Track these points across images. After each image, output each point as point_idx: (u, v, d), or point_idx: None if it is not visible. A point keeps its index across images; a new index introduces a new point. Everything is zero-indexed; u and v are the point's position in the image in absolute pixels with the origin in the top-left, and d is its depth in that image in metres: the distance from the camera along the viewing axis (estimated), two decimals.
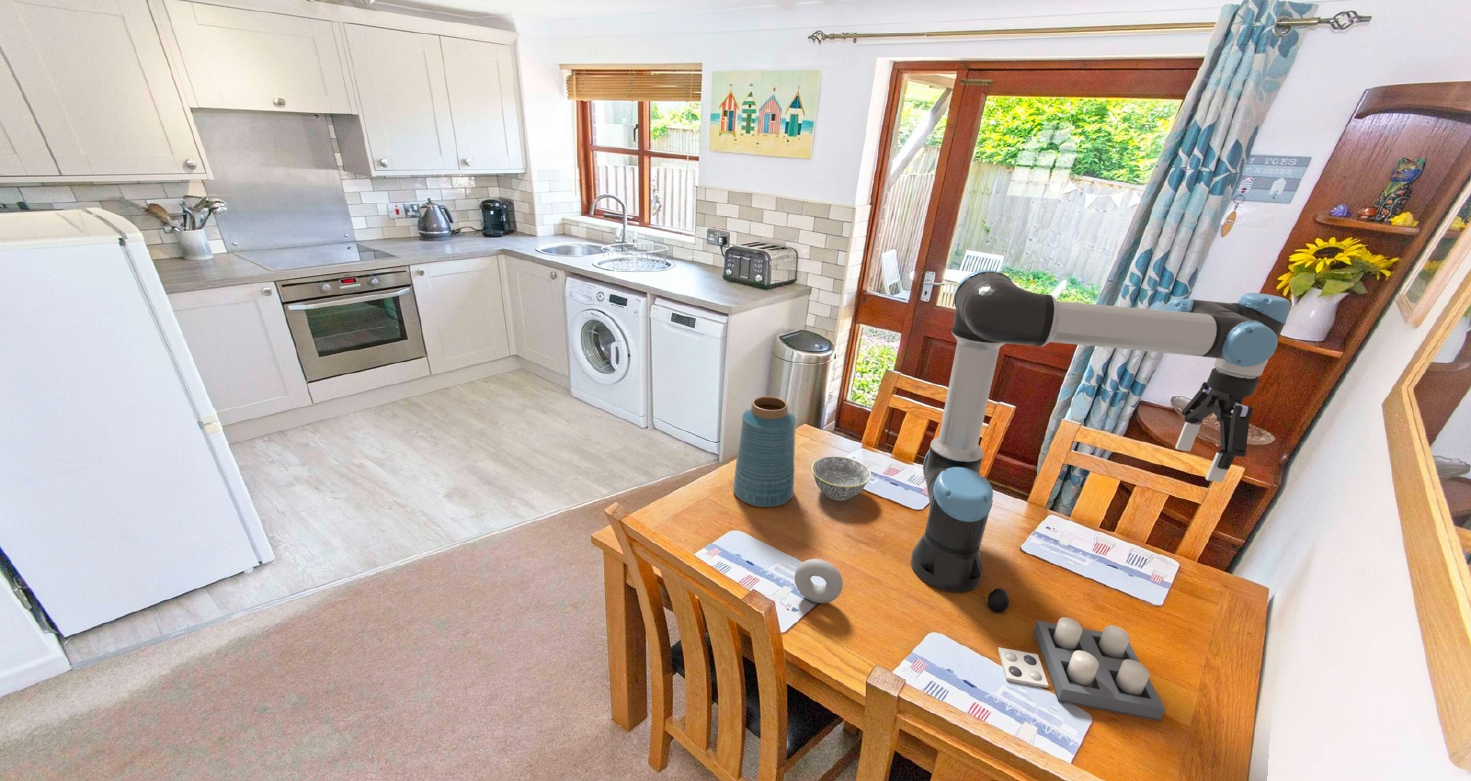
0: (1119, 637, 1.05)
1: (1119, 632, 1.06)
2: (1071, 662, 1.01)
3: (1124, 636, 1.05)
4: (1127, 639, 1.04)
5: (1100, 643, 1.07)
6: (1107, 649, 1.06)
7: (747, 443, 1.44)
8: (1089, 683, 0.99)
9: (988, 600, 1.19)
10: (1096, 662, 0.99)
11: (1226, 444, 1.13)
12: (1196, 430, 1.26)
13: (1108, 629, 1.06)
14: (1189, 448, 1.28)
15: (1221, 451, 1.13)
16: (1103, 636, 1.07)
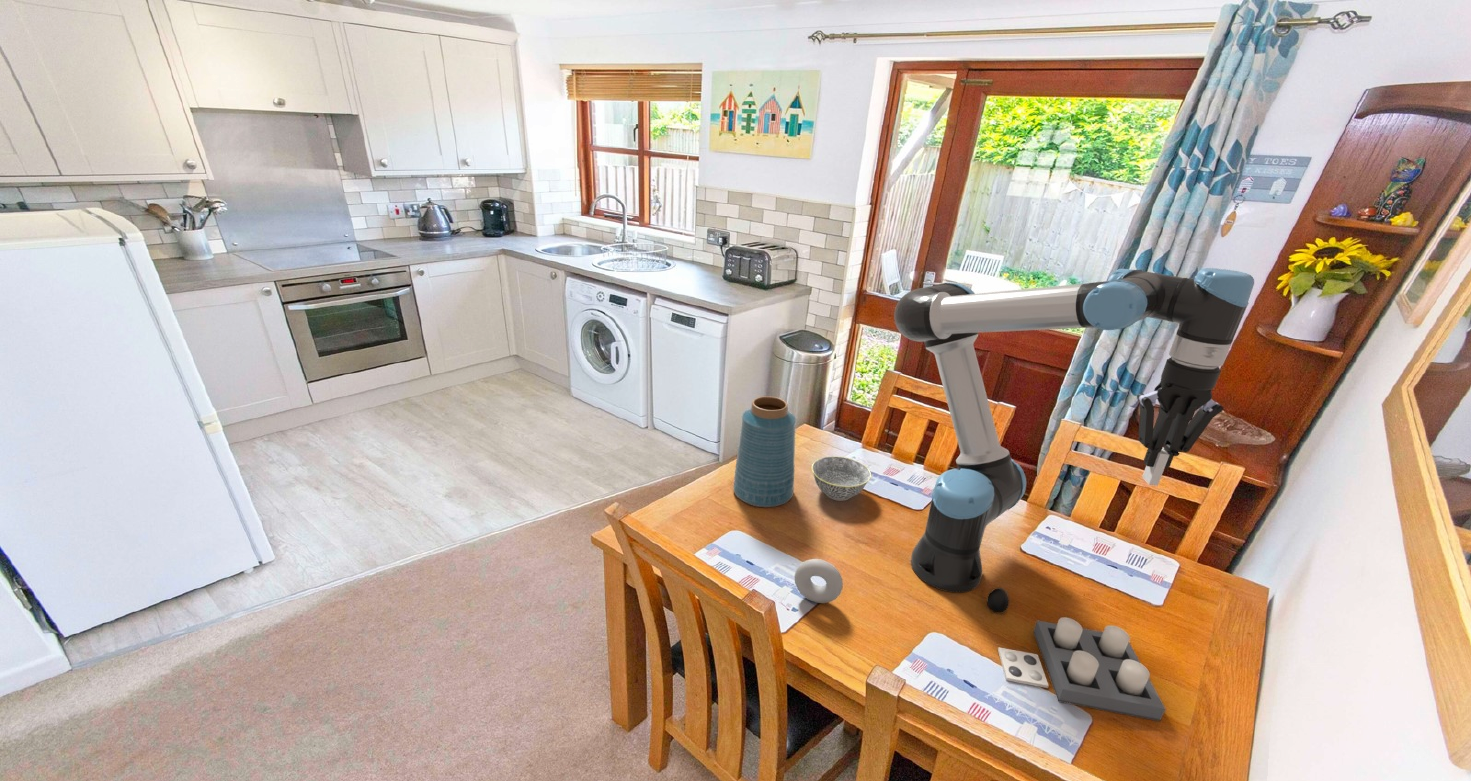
0: (1119, 637, 1.05)
1: (1119, 632, 1.06)
2: (1071, 662, 1.01)
3: (1124, 636, 1.05)
4: (1127, 639, 1.04)
5: (1100, 643, 1.07)
6: (1107, 649, 1.06)
7: (747, 443, 1.44)
8: (1089, 683, 0.99)
9: (988, 600, 1.19)
10: (1096, 662, 0.99)
11: None
12: None
13: (1108, 629, 1.06)
14: (1153, 481, 1.05)
15: None
16: (1103, 636, 1.07)
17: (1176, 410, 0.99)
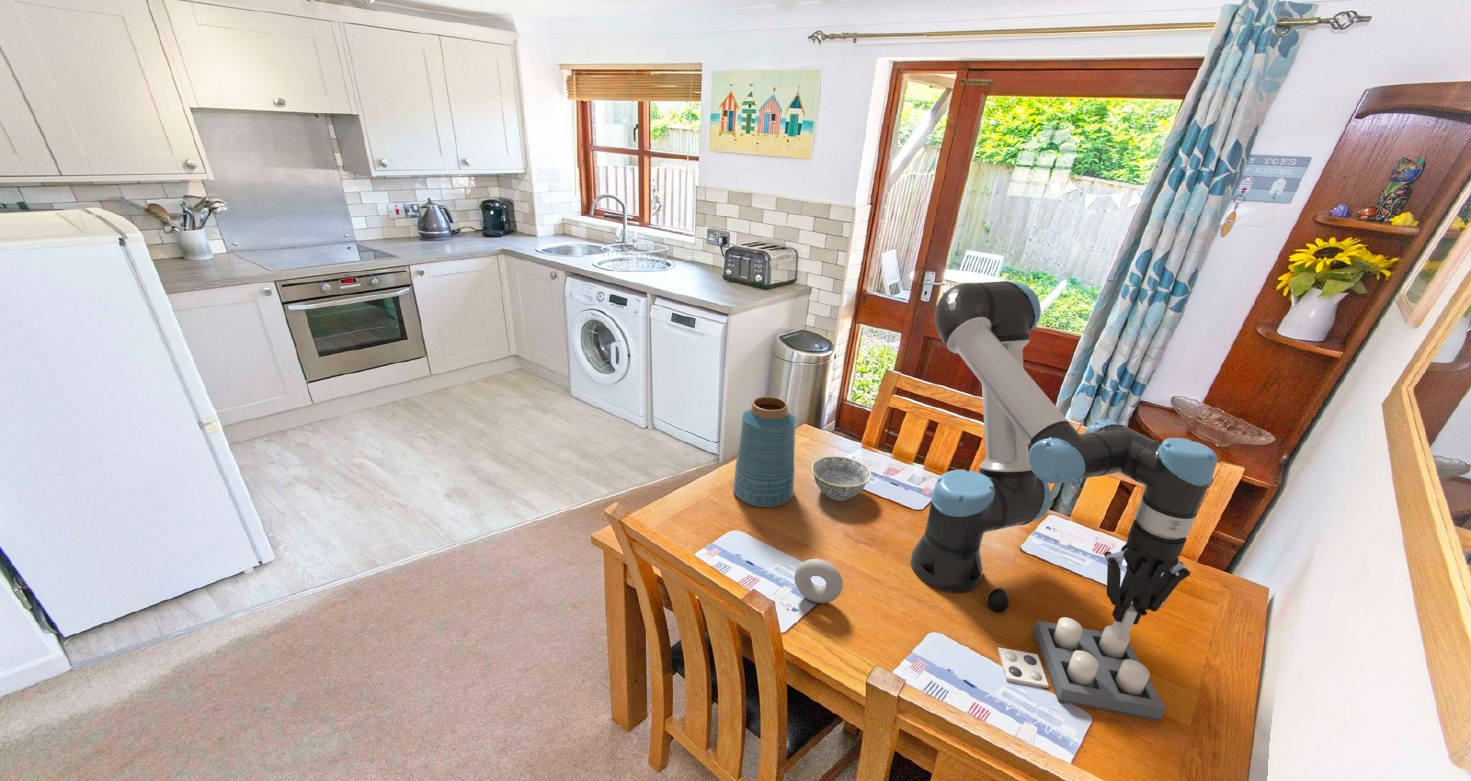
0: None
1: None
2: (1071, 662, 1.01)
3: None
4: (1127, 639, 1.05)
5: (1100, 643, 1.07)
6: (1107, 649, 1.06)
7: (747, 443, 1.44)
8: (1089, 683, 0.99)
9: (988, 600, 1.19)
10: (1096, 662, 0.99)
11: None
12: None
13: (1108, 629, 1.07)
14: (1122, 635, 1.04)
15: None
16: (1103, 636, 1.07)
17: (1142, 573, 0.98)
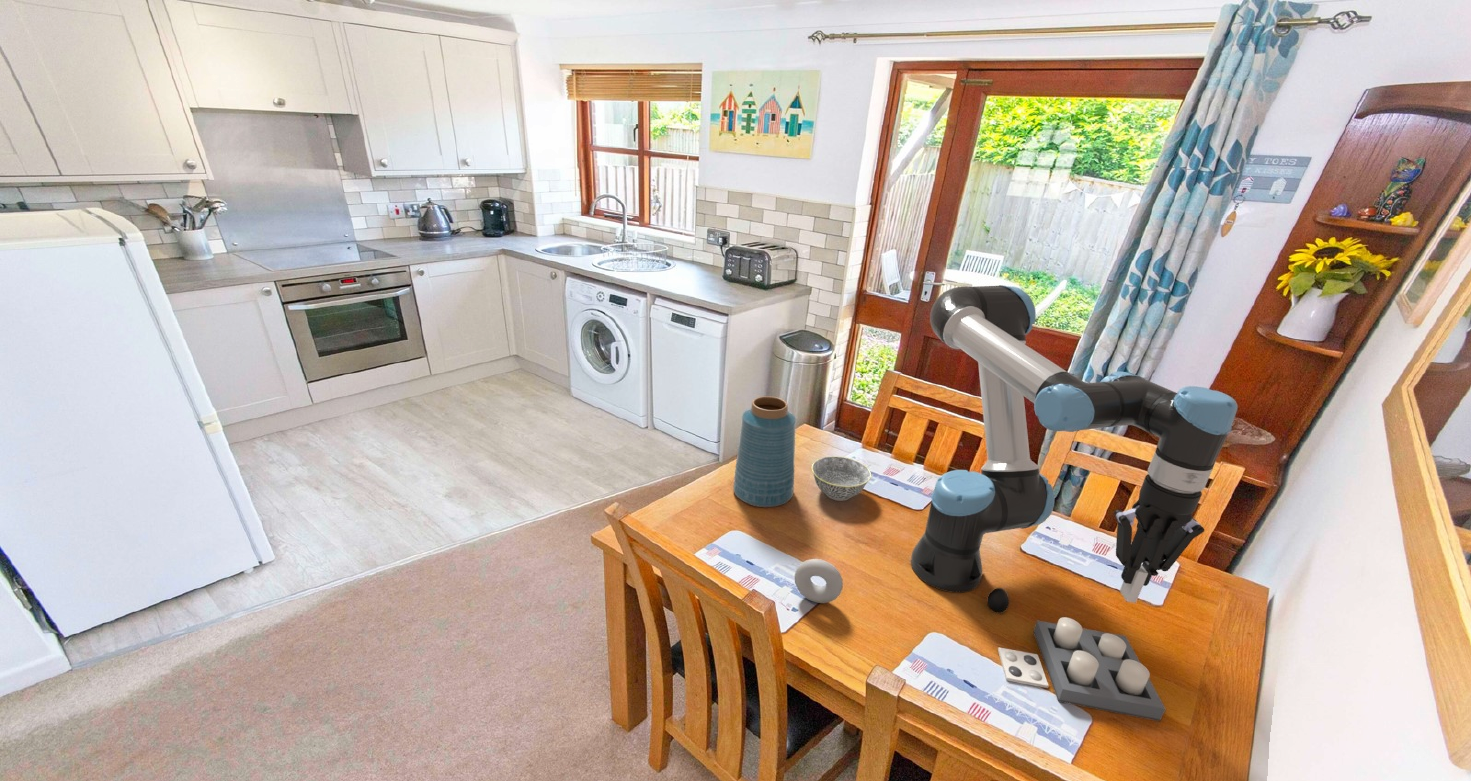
0: (1116, 646, 1.06)
1: (1115, 640, 1.07)
2: (1071, 662, 1.01)
3: (1121, 644, 1.06)
4: (1124, 647, 1.05)
5: None
6: None
7: (747, 443, 1.44)
8: (1089, 683, 0.99)
9: (988, 600, 1.19)
10: (1096, 662, 0.99)
11: None
12: None
13: (1105, 637, 1.07)
14: (1131, 598, 1.00)
15: None
16: (1100, 644, 1.07)
17: (1155, 531, 0.93)
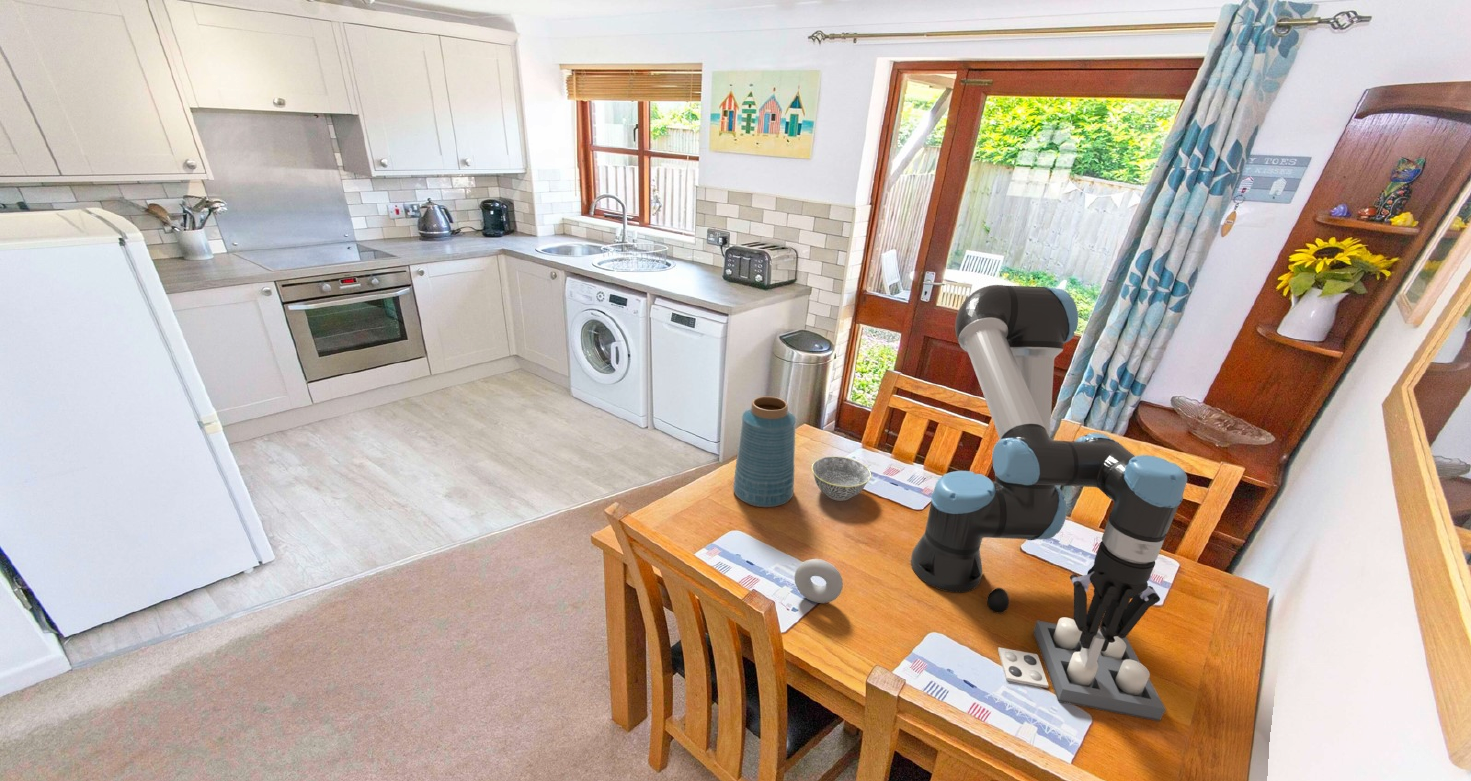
0: (1116, 646, 1.06)
1: (1115, 640, 1.07)
2: (1071, 663, 1.01)
3: (1121, 644, 1.06)
4: (1124, 647, 1.05)
5: None
6: None
7: (747, 443, 1.44)
8: (1089, 684, 1.00)
9: (988, 600, 1.19)
10: (1096, 663, 0.99)
11: None
12: None
13: None
14: (1089, 663, 0.98)
15: None
16: None
17: (1109, 598, 0.92)
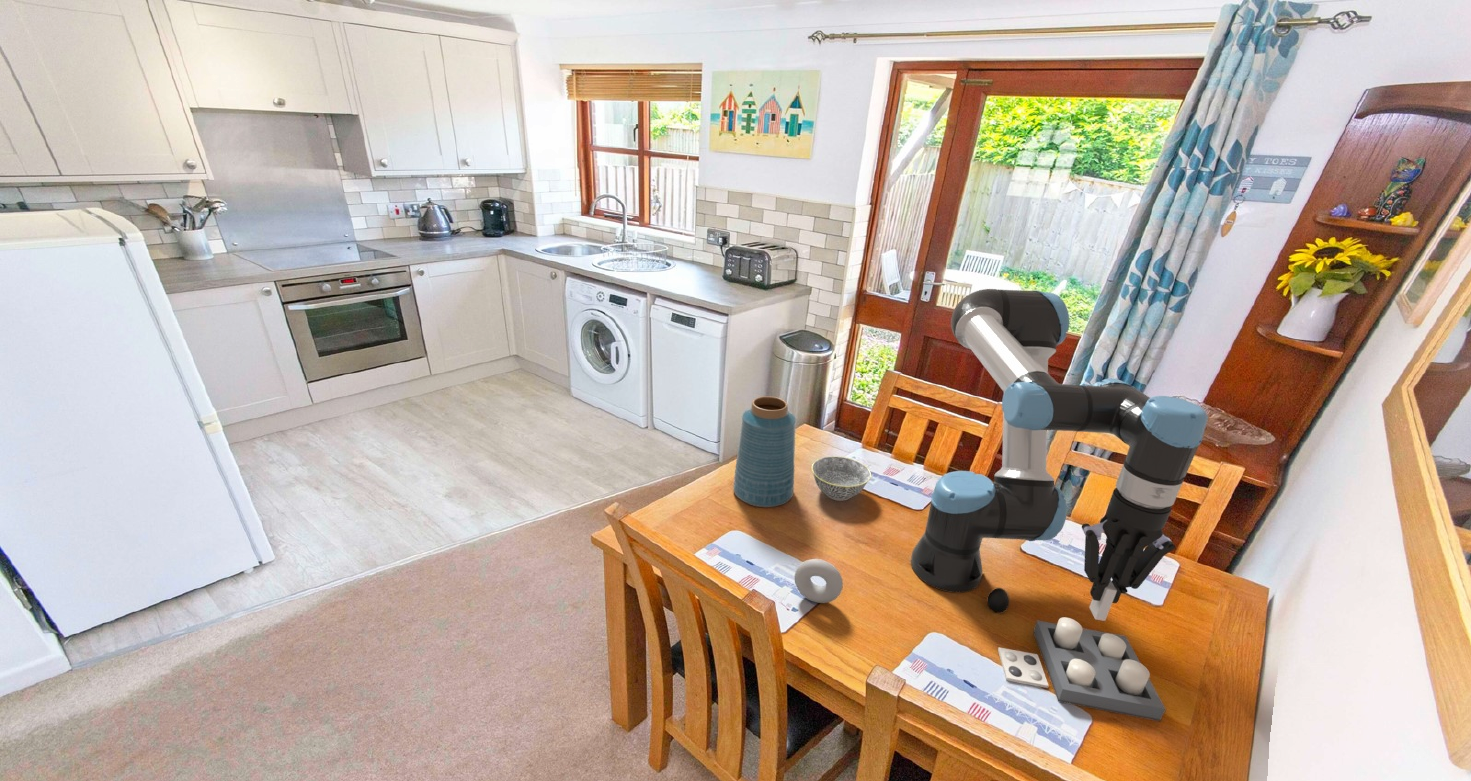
0: (1116, 646, 1.06)
1: (1115, 640, 1.07)
2: (1068, 670, 1.01)
3: (1121, 644, 1.06)
4: (1124, 647, 1.05)
5: None
6: None
7: (747, 443, 1.44)
8: None
9: (988, 600, 1.19)
10: (1093, 670, 1.00)
11: (1097, 569, 0.94)
12: None
13: (1105, 637, 1.07)
14: (1100, 615, 0.95)
15: None
16: (1100, 644, 1.07)
17: (1123, 546, 0.89)
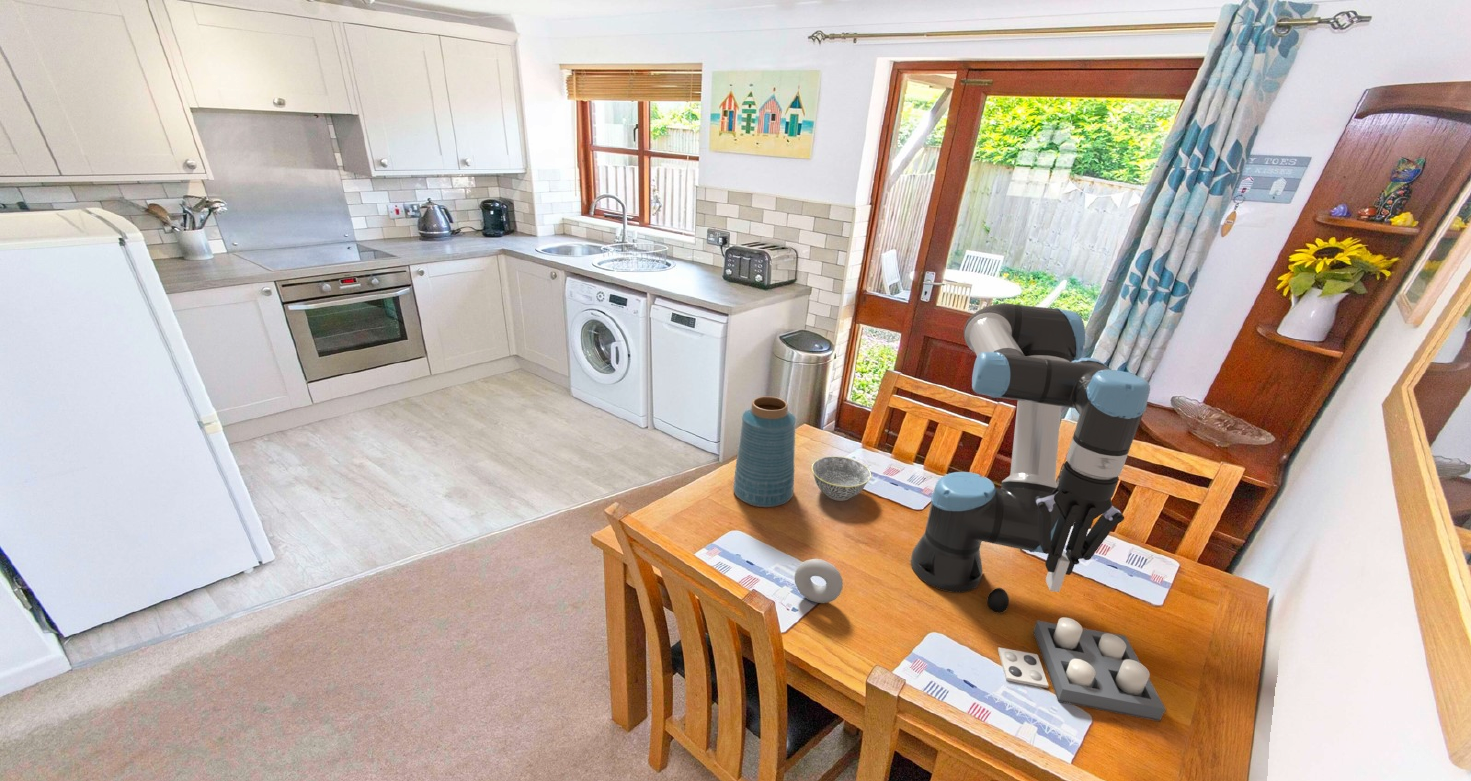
0: (1116, 646, 1.06)
1: (1115, 640, 1.07)
2: (1068, 670, 1.01)
3: (1121, 644, 1.06)
4: (1124, 647, 1.05)
5: None
6: None
7: (747, 443, 1.44)
8: None
9: (988, 600, 1.19)
10: (1093, 670, 1.00)
11: (1051, 541, 0.97)
12: None
13: (1105, 637, 1.07)
14: (1054, 587, 0.98)
15: None
16: (1100, 644, 1.07)
17: (1073, 518, 0.91)
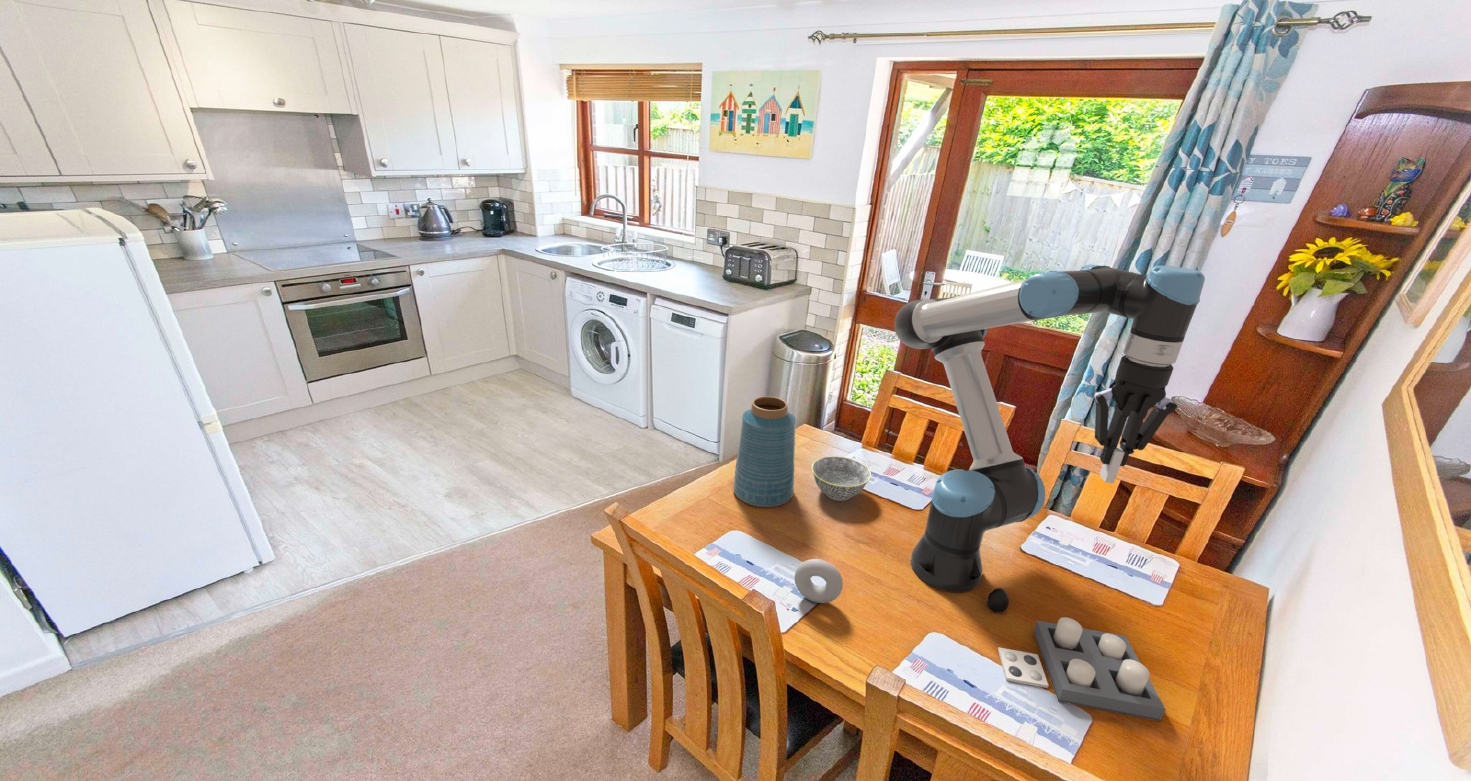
0: (1116, 646, 1.06)
1: (1115, 640, 1.07)
2: (1068, 670, 1.01)
3: (1121, 644, 1.06)
4: (1124, 647, 1.05)
5: None
6: None
7: (747, 443, 1.44)
8: None
9: (988, 600, 1.19)
10: (1093, 670, 1.00)
11: (1106, 435, 1.04)
12: (1116, 457, 1.04)
13: (1105, 637, 1.07)
14: (1109, 478, 1.05)
15: None
16: (1100, 644, 1.07)
17: (1130, 408, 0.99)
